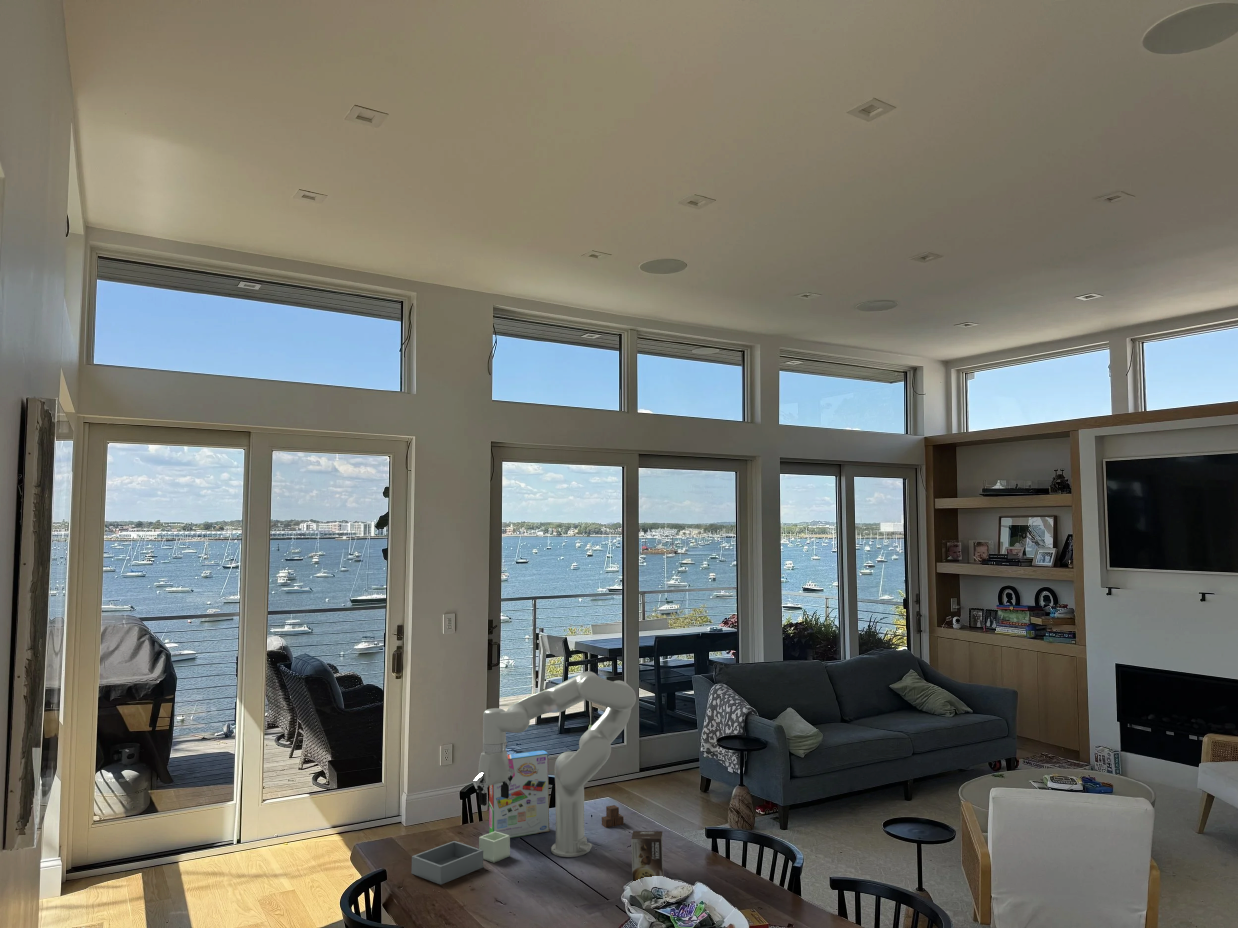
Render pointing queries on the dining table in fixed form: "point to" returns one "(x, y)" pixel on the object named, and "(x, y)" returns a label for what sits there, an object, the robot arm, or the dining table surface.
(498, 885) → the dining table surface
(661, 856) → the food package box
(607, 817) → the stack of crates
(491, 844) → the small crate
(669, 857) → the dining table surface
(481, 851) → the big crate
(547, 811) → the game box
